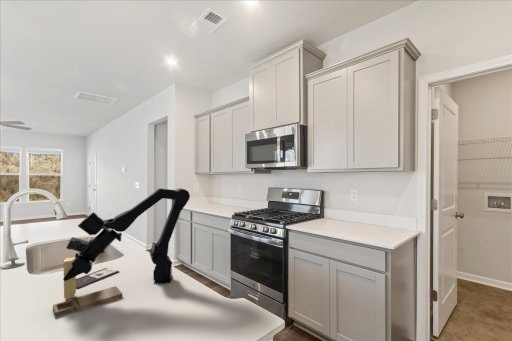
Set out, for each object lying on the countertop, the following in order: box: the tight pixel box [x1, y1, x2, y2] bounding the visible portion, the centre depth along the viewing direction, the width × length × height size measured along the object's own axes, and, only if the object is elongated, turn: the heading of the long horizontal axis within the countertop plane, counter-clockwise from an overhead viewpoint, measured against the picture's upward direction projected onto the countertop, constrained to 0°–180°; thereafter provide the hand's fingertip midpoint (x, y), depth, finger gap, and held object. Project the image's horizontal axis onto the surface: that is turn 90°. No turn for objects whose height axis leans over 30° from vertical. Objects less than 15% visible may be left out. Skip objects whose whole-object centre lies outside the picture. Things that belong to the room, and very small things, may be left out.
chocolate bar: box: [76, 267, 120, 290], centre depth 113 cm, size 9×1×18 cm
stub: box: [63, 256, 77, 299], centre depth 95 cm, size 3×4×13 cm
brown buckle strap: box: [52, 285, 123, 318], centre depth 92 cm, size 19×8×2 cm, turn 133°
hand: (65, 277), depth 95 cm, fingers closed on stub, 4 cm apart
